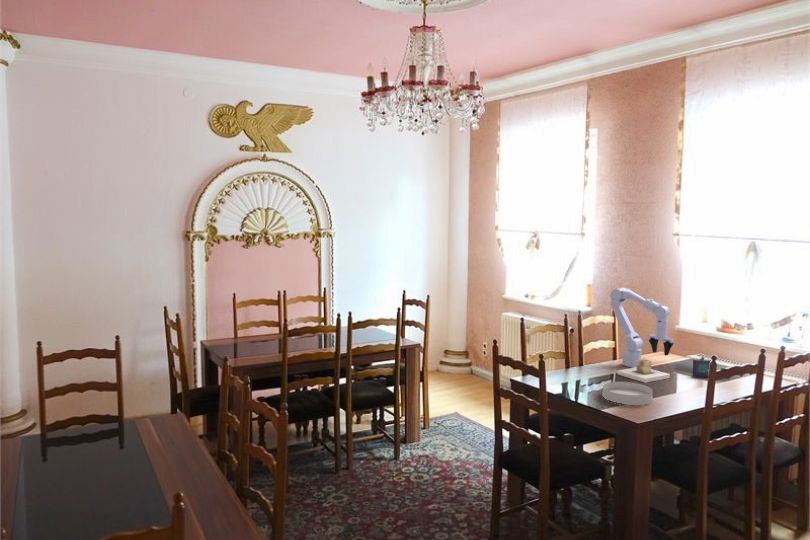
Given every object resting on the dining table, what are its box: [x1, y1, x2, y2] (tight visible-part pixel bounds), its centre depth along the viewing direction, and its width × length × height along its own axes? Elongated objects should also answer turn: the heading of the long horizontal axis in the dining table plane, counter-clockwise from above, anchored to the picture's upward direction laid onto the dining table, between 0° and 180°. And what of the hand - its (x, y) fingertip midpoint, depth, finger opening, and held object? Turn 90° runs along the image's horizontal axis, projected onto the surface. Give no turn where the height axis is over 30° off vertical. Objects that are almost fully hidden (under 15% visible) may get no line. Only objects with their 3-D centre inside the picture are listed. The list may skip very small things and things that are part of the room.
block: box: [637, 358, 652, 374], centre depth 333 cm, size 5×5×6 cm
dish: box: [601, 381, 654, 406], centre depth 295 cm, size 22×22×5 cm
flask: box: [692, 356, 712, 378], centre depth 332 cm, size 9×3×11 cm, turn 87°
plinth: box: [617, 367, 671, 384], centre depth 333 cm, size 18×18×2 cm
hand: (660, 353), depth 342 cm, fingers open, 7 cm apart
